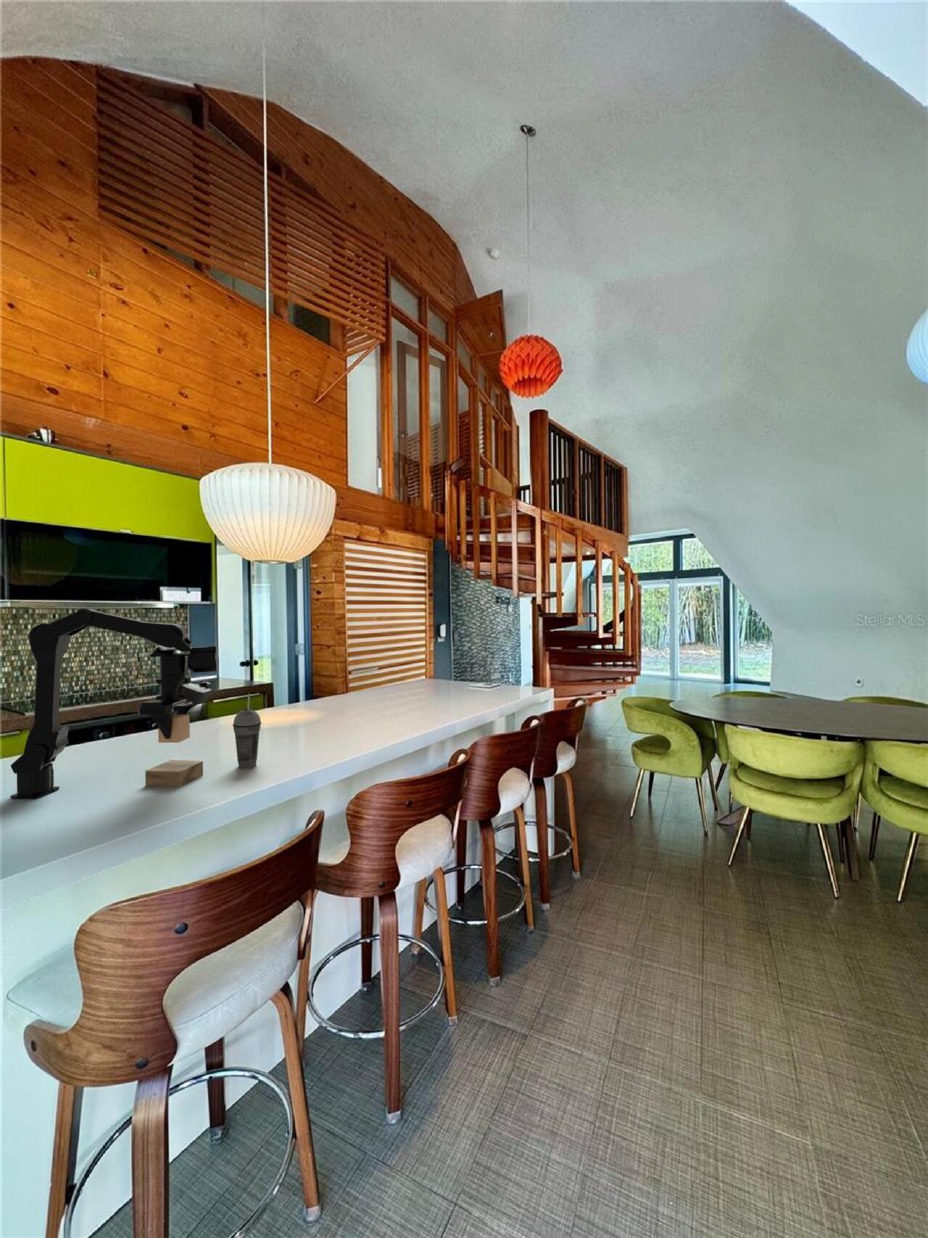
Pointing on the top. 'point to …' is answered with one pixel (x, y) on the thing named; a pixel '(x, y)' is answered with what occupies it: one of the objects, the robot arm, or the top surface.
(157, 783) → the walnut box
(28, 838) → the top surface
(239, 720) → the beverage cup
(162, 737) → the terracotta cube
